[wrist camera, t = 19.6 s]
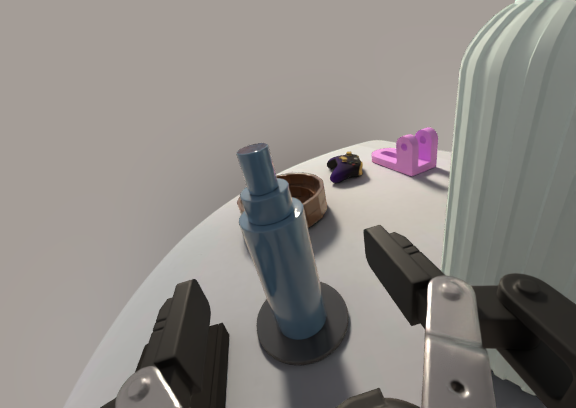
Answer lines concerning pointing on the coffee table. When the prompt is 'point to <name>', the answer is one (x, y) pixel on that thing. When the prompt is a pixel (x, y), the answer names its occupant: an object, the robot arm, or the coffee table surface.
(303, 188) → the bowl
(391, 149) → the bracket
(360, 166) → the gaming controller
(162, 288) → the coffee table surface
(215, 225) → the coffee table surface
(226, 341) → the vhs tape
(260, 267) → the bottle
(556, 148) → the vase
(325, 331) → the coaster
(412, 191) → the coffee table surface
